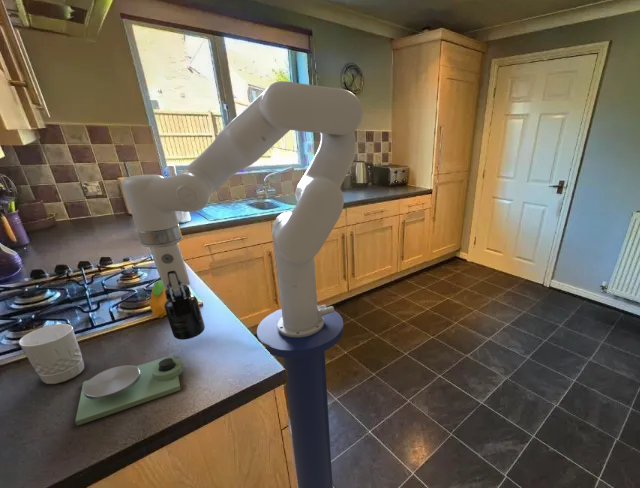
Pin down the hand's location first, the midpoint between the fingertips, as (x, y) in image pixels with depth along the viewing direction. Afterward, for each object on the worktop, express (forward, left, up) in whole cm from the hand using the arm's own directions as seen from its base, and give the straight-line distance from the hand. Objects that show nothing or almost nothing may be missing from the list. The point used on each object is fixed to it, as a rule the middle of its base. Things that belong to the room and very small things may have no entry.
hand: (182, 306), depth 77 cm
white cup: (+24, -2, -10) cm, 26 cm away
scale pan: (+14, +11, -8) cm, 20 cm away
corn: (+4, -22, -10) cm, 24 cm away
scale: (+12, +11, -10) cm, 19 cm away
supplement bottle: (0, 0, -7) cm, 7 cm away
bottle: (-11, -131, -10) cm, 131 cm away
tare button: (+5, +11, -8) cm, 15 cm away
